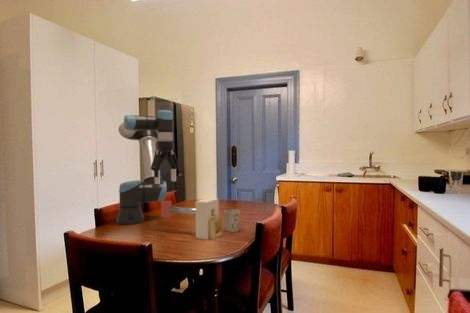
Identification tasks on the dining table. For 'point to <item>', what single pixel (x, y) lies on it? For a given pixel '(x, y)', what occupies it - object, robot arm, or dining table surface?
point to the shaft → (174, 209)
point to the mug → (232, 219)
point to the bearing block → (206, 216)
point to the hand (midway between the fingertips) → (165, 182)
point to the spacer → (212, 227)
